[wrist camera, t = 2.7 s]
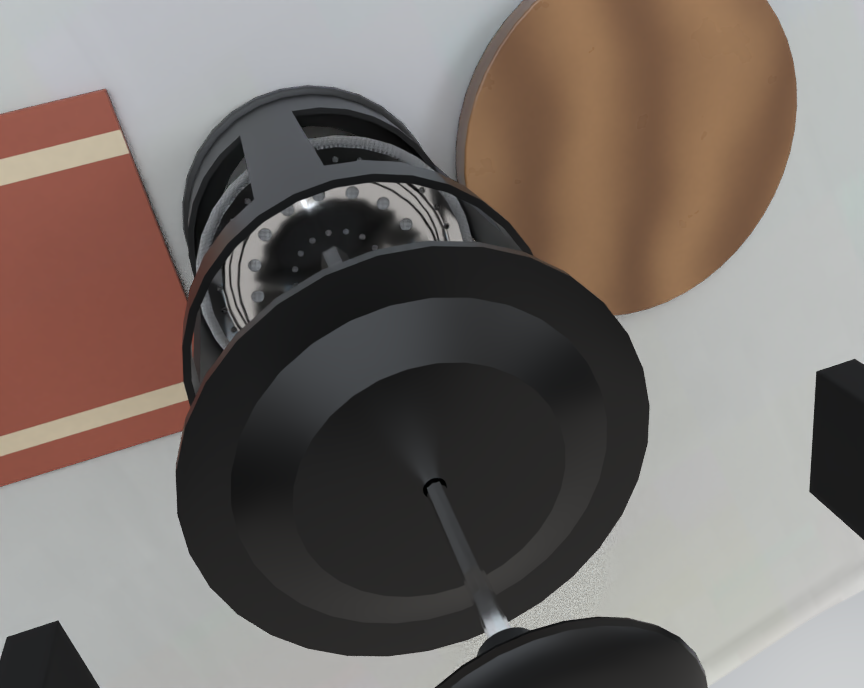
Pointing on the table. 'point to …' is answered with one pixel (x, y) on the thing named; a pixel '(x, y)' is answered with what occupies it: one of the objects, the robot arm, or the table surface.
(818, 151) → the table surface
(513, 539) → the french press
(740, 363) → the table surface
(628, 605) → the table surface
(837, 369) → the robot arm
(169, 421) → the napkin
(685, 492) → the table surface
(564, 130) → the brown wooden round trivet
